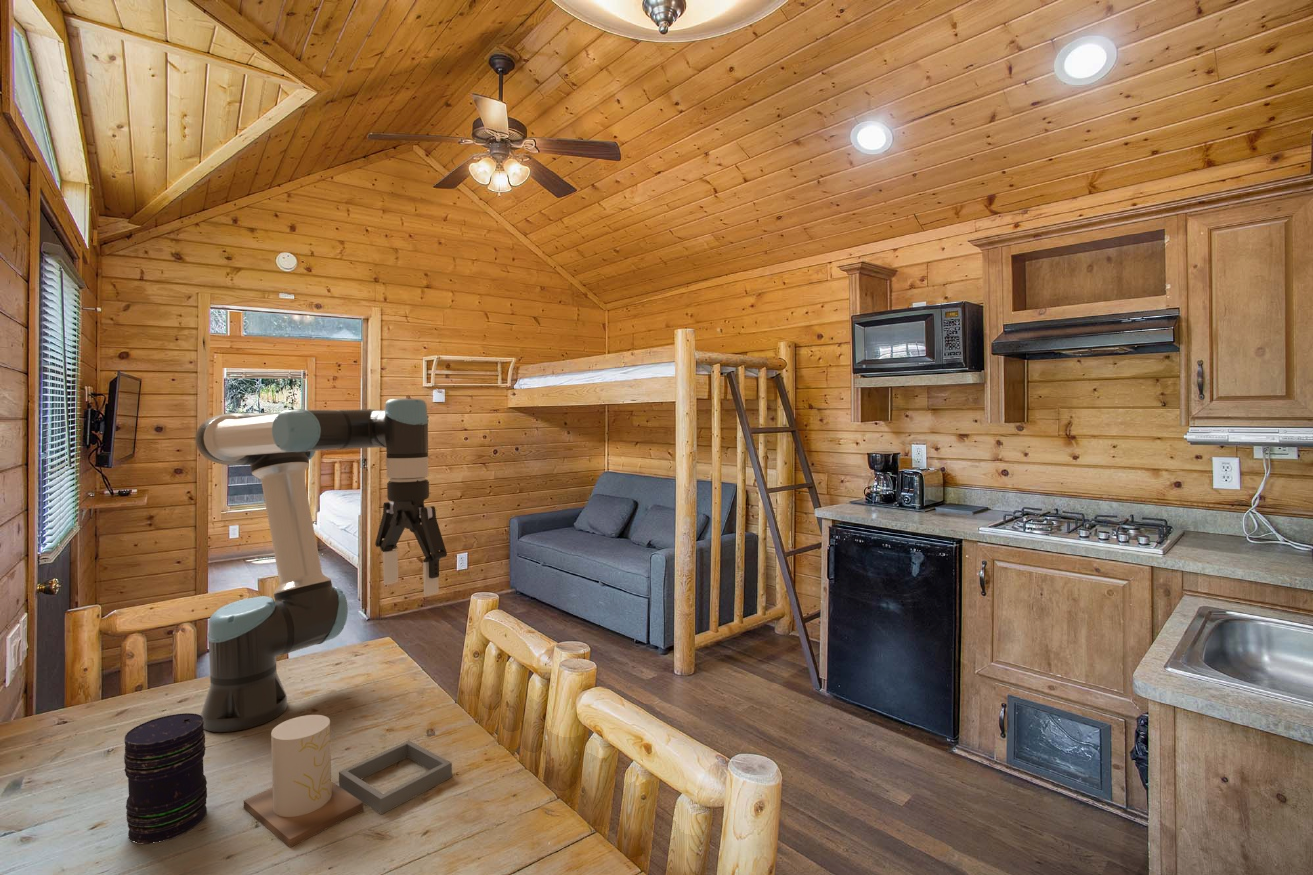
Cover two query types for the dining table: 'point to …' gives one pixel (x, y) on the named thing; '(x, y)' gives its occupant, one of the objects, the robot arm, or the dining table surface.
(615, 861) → the dining table surface
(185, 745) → the dark purple cylinder
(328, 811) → the walnut board
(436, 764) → the square collar
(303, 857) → the dining table surface
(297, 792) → the cup
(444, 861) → the dining table surface
